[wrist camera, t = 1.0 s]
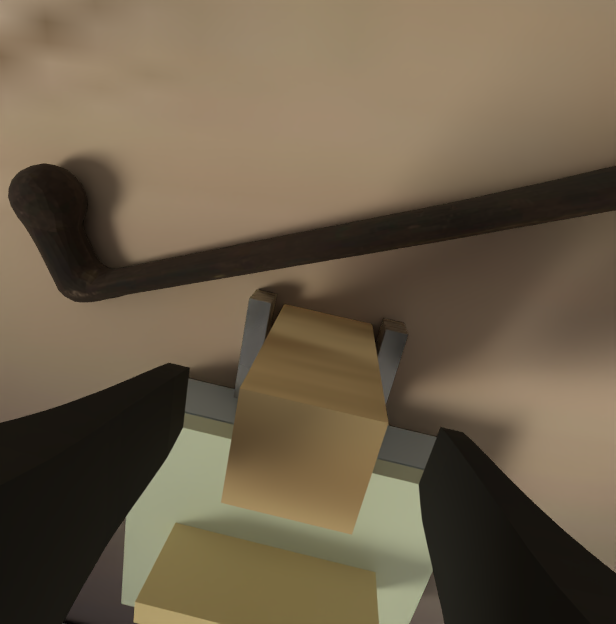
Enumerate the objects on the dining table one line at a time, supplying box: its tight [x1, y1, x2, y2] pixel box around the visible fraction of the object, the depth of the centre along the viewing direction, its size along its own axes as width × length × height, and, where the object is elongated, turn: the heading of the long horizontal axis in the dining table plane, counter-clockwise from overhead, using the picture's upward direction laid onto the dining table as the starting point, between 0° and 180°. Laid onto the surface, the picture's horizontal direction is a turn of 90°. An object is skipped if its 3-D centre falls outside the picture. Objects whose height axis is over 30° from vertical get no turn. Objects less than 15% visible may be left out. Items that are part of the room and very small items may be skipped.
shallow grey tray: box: [185, 379, 437, 470], centre depth 17 cm, size 10×12×2 cm
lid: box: [121, 413, 433, 624], centre depth 14 cm, size 10×12×4 cm
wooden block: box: [221, 304, 388, 535], centre depth 12 cm, size 4×4×6 cm
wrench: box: [8, 164, 616, 302], centre depth 11 cm, size 5×5×30 cm
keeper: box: [234, 290, 408, 405], centre depth 15 cm, size 4×6×1 cm
